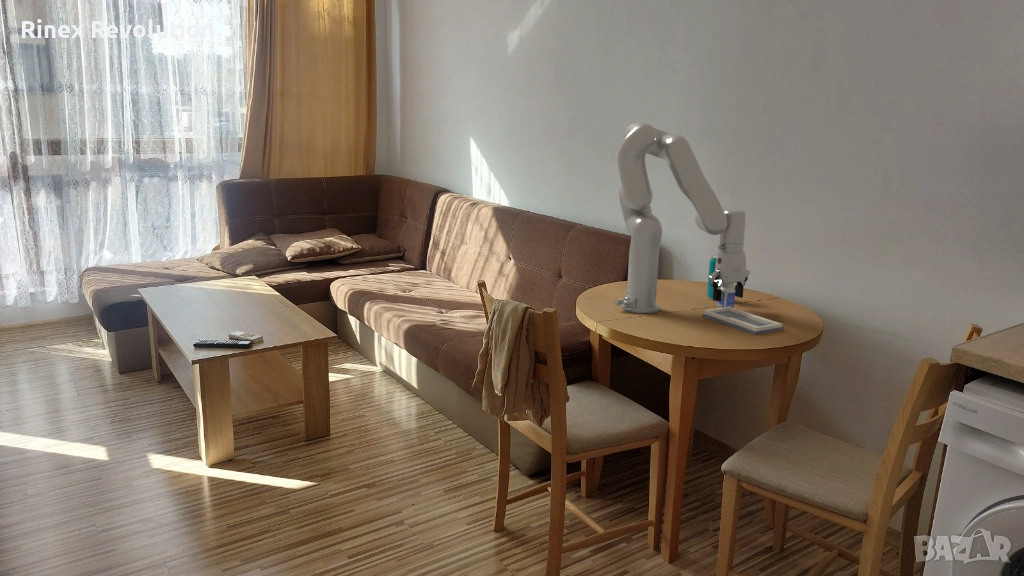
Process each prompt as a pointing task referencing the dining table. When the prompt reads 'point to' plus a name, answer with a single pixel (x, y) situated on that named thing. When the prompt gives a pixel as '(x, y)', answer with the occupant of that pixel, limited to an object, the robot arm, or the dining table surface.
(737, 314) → the grey flat rectangular tray
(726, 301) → the pill bottle
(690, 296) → the dining table surface
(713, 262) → the beverage can
